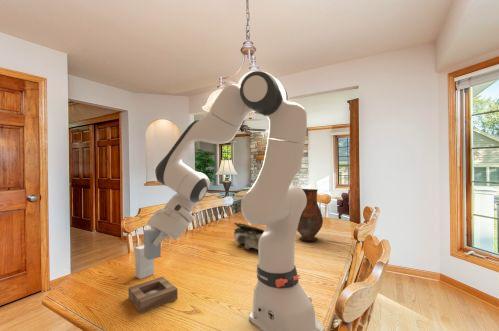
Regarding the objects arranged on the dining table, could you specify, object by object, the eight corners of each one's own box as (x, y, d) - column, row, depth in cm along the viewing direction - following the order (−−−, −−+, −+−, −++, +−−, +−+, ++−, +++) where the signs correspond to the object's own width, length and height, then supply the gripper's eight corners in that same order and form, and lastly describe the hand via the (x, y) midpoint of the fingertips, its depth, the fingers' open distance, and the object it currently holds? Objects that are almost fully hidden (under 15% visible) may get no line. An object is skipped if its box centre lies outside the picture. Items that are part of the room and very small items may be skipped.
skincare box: (148, 271, 106) (148, 243, 105) (154, 274, 103) (153, 245, 103) (134, 276, 101) (134, 247, 101) (139, 279, 98) (139, 249, 98)
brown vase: (328, 240, 146) (328, 189, 146) (305, 248, 133) (305, 192, 133) (306, 233, 159) (306, 187, 159) (282, 240, 146) (282, 189, 146)
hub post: (160, 256, 84) (160, 229, 84) (148, 260, 82) (148, 231, 82) (155, 253, 87) (155, 227, 87) (144, 256, 85) (144, 229, 84)
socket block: (177, 298, 84) (177, 288, 84) (140, 313, 76) (140, 302, 76) (162, 285, 93) (162, 276, 93) (128, 297, 85) (128, 287, 85)
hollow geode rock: (235, 249, 145) (220, 234, 138) (247, 231, 151) (233, 216, 144) (270, 262, 124) (255, 245, 117) (282, 240, 130) (268, 223, 123)
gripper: (159, 201, 97) (133, 231, 90) (184, 208, 81) (155, 245, 75) (170, 211, 100) (145, 240, 93) (197, 219, 85) (169, 256, 78)
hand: (150, 242), depth 84 cm, fingers closed on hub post, 4 cm apart
